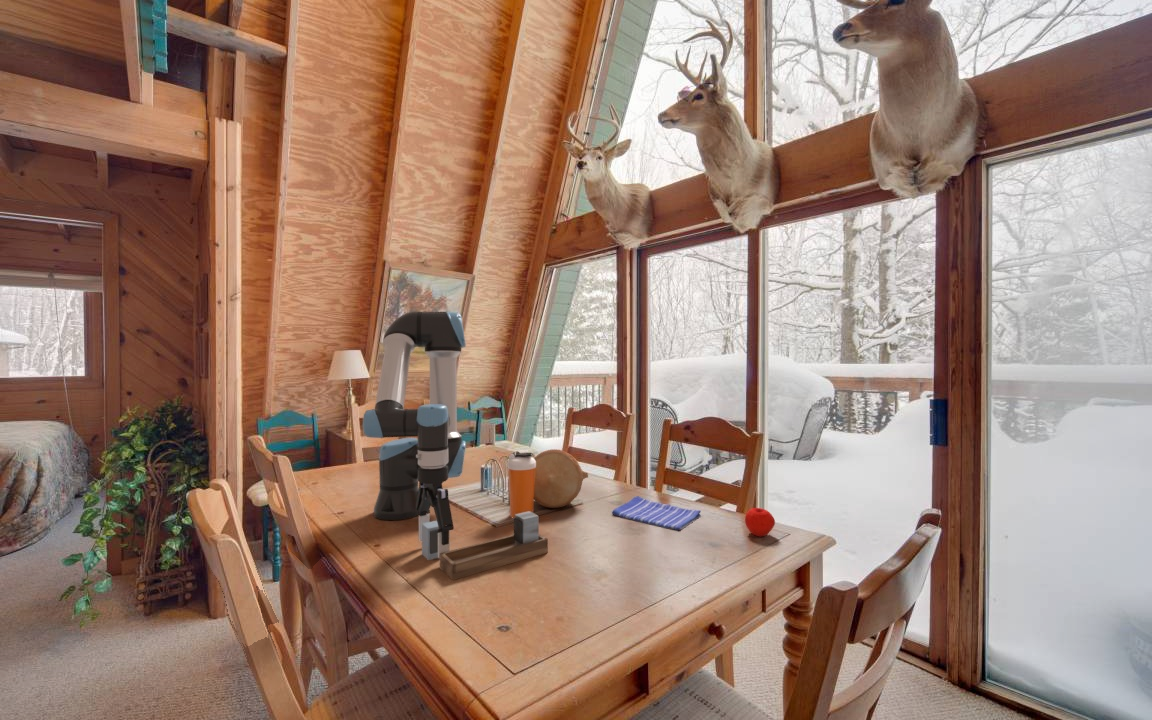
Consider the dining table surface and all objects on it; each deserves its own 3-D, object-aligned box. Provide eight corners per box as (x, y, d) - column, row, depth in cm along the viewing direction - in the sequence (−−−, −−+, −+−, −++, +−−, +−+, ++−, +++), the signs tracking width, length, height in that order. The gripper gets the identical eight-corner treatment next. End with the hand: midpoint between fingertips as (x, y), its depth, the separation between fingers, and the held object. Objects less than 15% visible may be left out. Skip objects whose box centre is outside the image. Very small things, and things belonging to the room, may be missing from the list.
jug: (510, 477, 161) (518, 465, 191) (546, 525, 160) (548, 506, 190) (560, 438, 163) (560, 433, 193) (596, 486, 162) (590, 473, 192)
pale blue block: (438, 550, 134) (438, 520, 133) (446, 556, 129) (446, 525, 129) (422, 554, 131) (421, 523, 131) (429, 561, 127) (428, 529, 127)
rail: (439, 567, 123) (439, 528, 123) (531, 542, 139) (531, 508, 138) (452, 579, 117) (452, 539, 116) (547, 552, 132) (547, 516, 132)
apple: (778, 534, 145) (779, 508, 145) (767, 542, 139) (767, 515, 139) (751, 527, 150) (752, 502, 150) (739, 534, 145) (740, 508, 144)
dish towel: (636, 502, 175) (636, 494, 175) (702, 516, 161) (702, 507, 161) (609, 516, 161) (609, 507, 161) (679, 533, 147) (679, 523, 147)
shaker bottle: (531, 522, 154) (531, 456, 154) (503, 520, 156) (503, 455, 155) (539, 512, 163) (539, 450, 162) (512, 510, 165) (512, 449, 164)
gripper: (402, 458, 137) (403, 536, 138) (436, 477, 117) (437, 568, 118) (429, 455, 142) (430, 530, 142) (467, 472, 122) (467, 560, 122)
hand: (433, 548), depth 130 cm, fingers open, 13 cm apart
